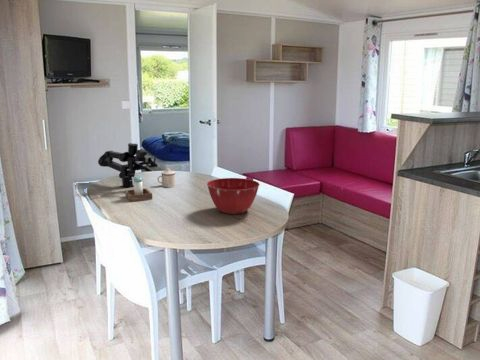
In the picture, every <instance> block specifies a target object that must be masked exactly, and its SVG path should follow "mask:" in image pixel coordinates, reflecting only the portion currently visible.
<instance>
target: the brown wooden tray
mask: <svg viewBox="0 0 480 360" xmlns="http://www.w3.org/2000/svg"><path fill="white" fill-rule="evenodd" d="M124 193H125V197H126V199H127V200H128V201H129V202H130V203H133V202H140V201H149V200H153V193H152V191H150V190H149V189H148V188H143V194H139V195H135V194H134V189H128V190H124Z"/></svg>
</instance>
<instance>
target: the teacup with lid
mask: <svg viewBox="0 0 480 360" xmlns="http://www.w3.org/2000/svg"><path fill="white" fill-rule="evenodd" d="M160 174H161V175H159V176H158V177H157V182H158V183H159V184H161V186H162V188H173V187H175V186H176V172H175V171H172V170H171V169H170V168H166V170H164V171H162V172H161V173H160ZM160 178H161V181H160V180H159V179H160Z"/></svg>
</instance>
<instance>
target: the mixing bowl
mask: <svg viewBox="0 0 480 360" xmlns="http://www.w3.org/2000/svg"><path fill="white" fill-rule="evenodd" d="M206 185H207V189H208V192H209V195H210V199H211V200H212V203H213V204H214V206H215V207H216V209H217V210H219V211H220V212H221V213H224V214H228V215H239V214H242V213H245V212H247V210H249V209H250V208H251V206H252V205H253V203H254V202H255V199H256V197H257V193H258V189H259V188H260V183H259V182H258V181H256V180H252V179H247V178H239V177H226V178H225V177H223V178H222V177H221V178H216V179H212V180H209V181H207V183H206Z"/></svg>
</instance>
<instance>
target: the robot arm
mask: <svg viewBox="0 0 480 360" xmlns="http://www.w3.org/2000/svg"><path fill="white" fill-rule="evenodd" d="M127 147H128V148H127V151H124V152H118V151H114V150H108V151H107V150H106V151H105V152H104V154H102V155H101V156H100V157H99V159H98V161H97V164H98V165H99V166H100V167H104V168H105V167H108V168H111V169H113V170H115V171H118V172H119V174H118V177H119V179H121V182H122V183H121V184H122V185H120V187H121V188H126V189H129V188H132V187H133V188H134V180H133V178H135V174H136V171H141V170H146V169H147V168H146V166H148V167H149V168H158V164H157V163H156V158H157V157H155V156H150V157H147V161H146V156H147V153H148V152H147V150H146V149H143V148H142V149H138V148H139V145H138V143H128V144H127ZM114 159H116V160H118V161H120V162H122V163H126V162H127V163H126V164H121V163H119V162H116V161H113V160H114Z"/></svg>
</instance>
